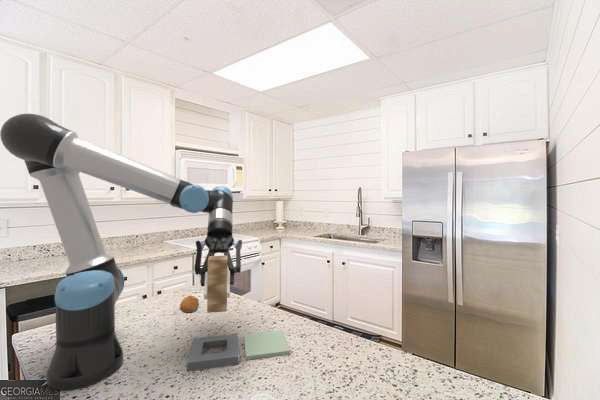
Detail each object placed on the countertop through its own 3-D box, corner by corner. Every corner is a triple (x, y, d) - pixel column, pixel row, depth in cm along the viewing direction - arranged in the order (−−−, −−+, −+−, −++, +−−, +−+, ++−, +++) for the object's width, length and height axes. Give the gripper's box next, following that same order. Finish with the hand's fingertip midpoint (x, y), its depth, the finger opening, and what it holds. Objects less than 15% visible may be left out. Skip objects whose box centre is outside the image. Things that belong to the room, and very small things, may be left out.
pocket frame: (186, 371, 71) (186, 363, 71) (193, 345, 83) (193, 338, 83) (238, 364, 74) (238, 356, 74) (237, 340, 86) (237, 333, 86)
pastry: (199, 312, 107) (199, 302, 106) (180, 315, 104) (180, 304, 104) (198, 303, 115) (198, 294, 115) (180, 306, 113) (179, 296, 112)
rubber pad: (245, 360, 76) (245, 356, 75) (243, 337, 87) (243, 334, 87) (290, 354, 78) (290, 350, 78) (282, 333, 90) (282, 330, 90)
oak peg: (207, 312, 75) (207, 260, 75) (208, 305, 80) (209, 256, 80) (226, 311, 77) (227, 259, 76) (226, 304, 81) (227, 255, 81)
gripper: (248, 233, 95) (251, 300, 79) (191, 234, 91) (181, 304, 75) (249, 218, 90) (252, 287, 74) (188, 218, 86) (178, 291, 70)
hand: (216, 295), depth 75 cm, fingers closed on oak peg, 5 cm apart
